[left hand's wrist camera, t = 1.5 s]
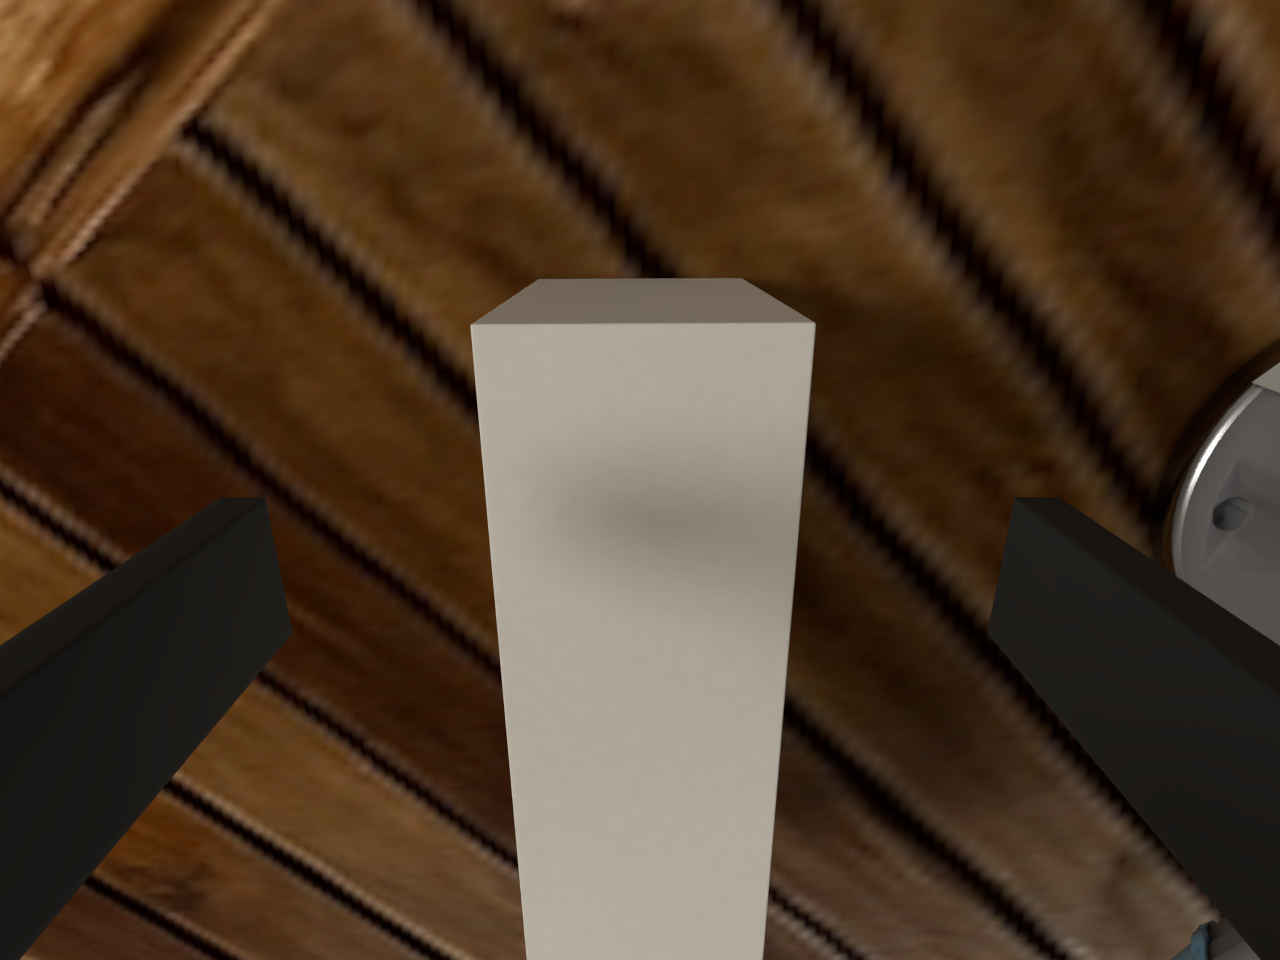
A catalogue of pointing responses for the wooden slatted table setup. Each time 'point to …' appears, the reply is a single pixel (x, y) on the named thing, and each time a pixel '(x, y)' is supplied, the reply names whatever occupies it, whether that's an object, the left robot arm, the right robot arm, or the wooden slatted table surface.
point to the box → (643, 601)
